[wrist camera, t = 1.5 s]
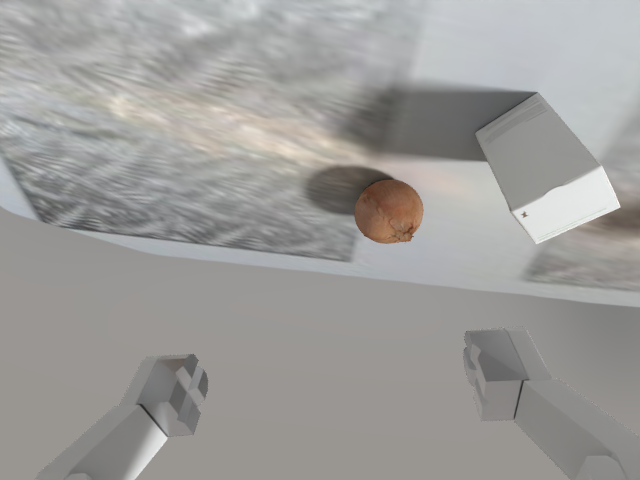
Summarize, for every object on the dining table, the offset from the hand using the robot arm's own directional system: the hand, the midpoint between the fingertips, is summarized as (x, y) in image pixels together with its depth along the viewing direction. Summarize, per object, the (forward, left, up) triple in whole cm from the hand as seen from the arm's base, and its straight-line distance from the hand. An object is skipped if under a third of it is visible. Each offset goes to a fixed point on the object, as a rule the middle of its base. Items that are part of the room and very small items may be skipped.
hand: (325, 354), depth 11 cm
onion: (+23, +10, -38) cm, 46 cm away
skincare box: (+10, +23, -38) cm, 46 cm away
